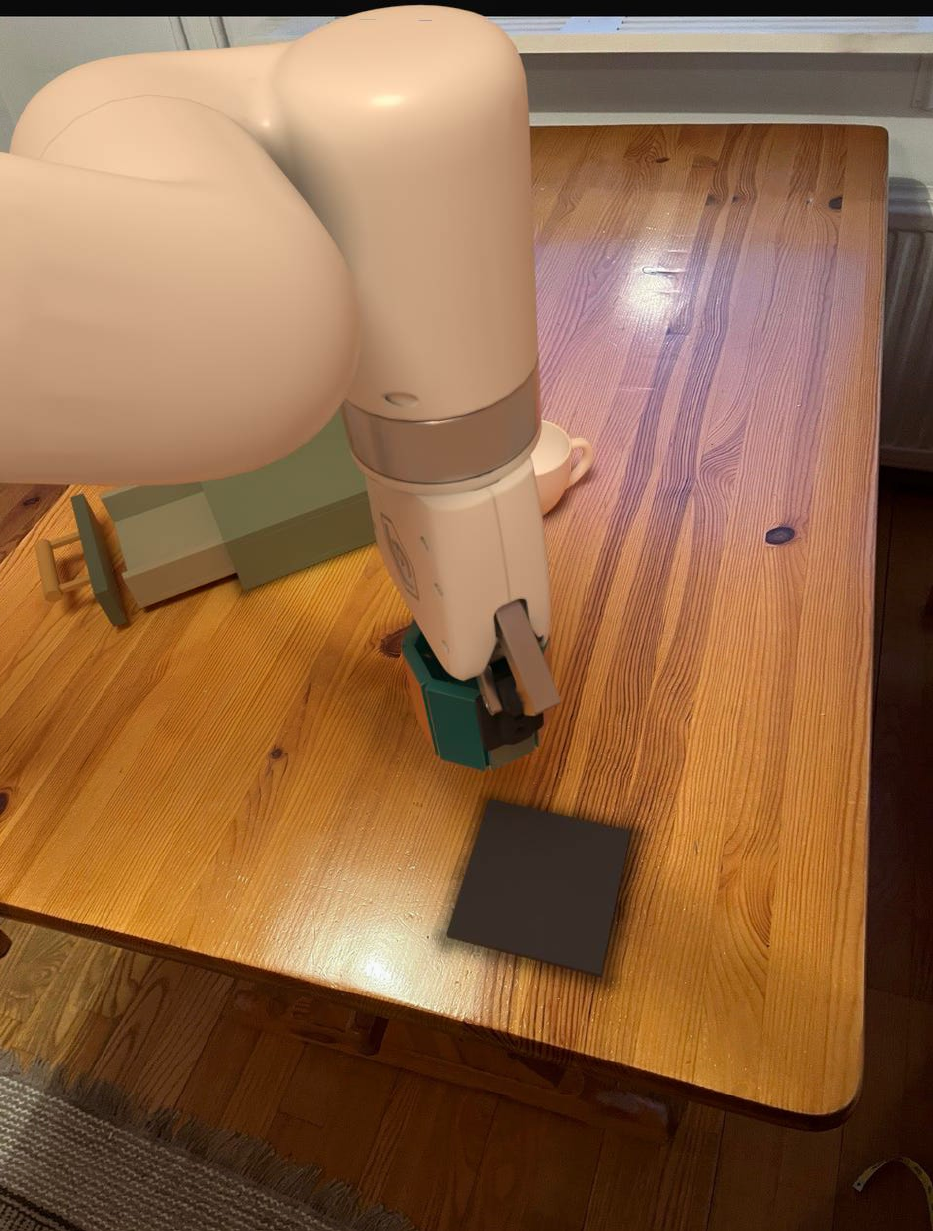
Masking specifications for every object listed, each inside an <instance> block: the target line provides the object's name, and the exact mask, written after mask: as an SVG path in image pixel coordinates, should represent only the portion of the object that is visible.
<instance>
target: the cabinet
mask: <svg viewBox="0 0 933 1231" xmlns="http://www.w3.org/2000/svg"><path fill="white" fill-rule="evenodd" d="M200 483H201V485H202V488H203V490H204V493H205V495H206V498H207V500H208V503H209V506H210V508H211V511H212V513H213V516H214V518H215V521H216V523H217V526H218V528H219V531H220V533H221V536H222V538H223V541H224V543H225V545H226V548H227V550H228V553H229V555H230V558H231V560H232V562H233V565H234V567H235V570H236V574H237V577H238V580H239V582H240V584H241V587H242V589H243V591H244V592H247V591H248V590H251V589H255V588H256V587H260V586H262V585H265V584H267V583H270V582H272V581H275V580H278V579H281V578H283V577H286V576H289V575H291V574H293V573H296V572H299V571H302V570H305V569H307V568H309V567H312V566H315V565H317V564H320V563H323V562H325V561H328V560H331V559H333V558H336V557H338V556H341V555H344V554H346V553H349V552H351V551H355V550H357V549H359V548H363V547H365V546H367V545H371V544H373V543H375V542H377V540H376V535H375V530H374V524H373V518H372V513H371V507H370V502H369V496H368V490H367V484H366V479H365V474H364V473H363V472H362V471H361V470H360V469H359V468H358V466H357V465H356V463H355V462H354V460H353V458H352V456H351V452H350V448H349V443H348V439H347V436H346V432H345V428H344V424H343V420H342V415H341V411H340V407H339V408H338V410H337V411H336V413H335V414H334V416H333V417H332V419H331V420H330V421H329V422H328V423H327V424H326V425H325V426H324V427H323V428H322V429H321V430H320V431H319V432H318V433H317V434H316V435H315V436H314V437H313V438H312V439H311V440H310V441H308V442H307V443H306V444H304V445H303V446H301V447H300V448H298V449H297V450H295V451H294V452H292V453H291V454H289V455H288V456H286V457H284V458H281V459H279V460H277V461H275V462H272V463H270V464H268V465H265V466H263V467H261V468H259V469H256V470H253V471H249V472H245V473H241V474H238V475H234V476H230V477H226V478H222V479H215V480H208V481H200Z"/></svg>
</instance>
